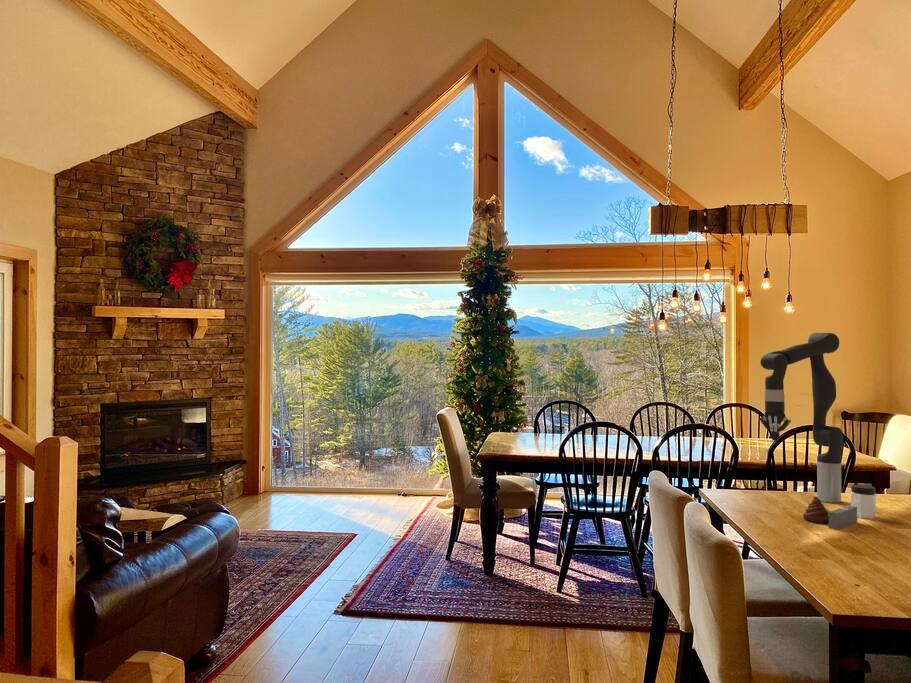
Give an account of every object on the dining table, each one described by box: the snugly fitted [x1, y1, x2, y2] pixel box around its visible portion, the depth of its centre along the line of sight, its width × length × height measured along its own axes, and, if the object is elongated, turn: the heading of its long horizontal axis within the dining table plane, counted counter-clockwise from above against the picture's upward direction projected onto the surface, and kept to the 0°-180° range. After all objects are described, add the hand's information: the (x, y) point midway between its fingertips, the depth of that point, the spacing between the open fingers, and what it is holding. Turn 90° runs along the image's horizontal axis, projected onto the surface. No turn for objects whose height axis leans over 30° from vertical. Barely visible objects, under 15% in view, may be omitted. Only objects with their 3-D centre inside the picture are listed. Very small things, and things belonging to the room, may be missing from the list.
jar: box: [850, 484, 877, 520], centre depth 253 cm, size 9×8×12 cm
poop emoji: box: [802, 496, 831, 525], centre depth 245 cm, size 10×8×9 cm
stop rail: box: [828, 505, 858, 531], centre depth 239 cm, size 18×3×6 cm, turn 127°
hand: (775, 440), depth 268 cm, fingers closed
